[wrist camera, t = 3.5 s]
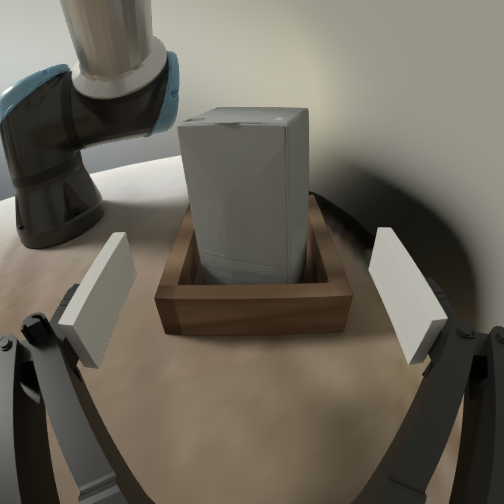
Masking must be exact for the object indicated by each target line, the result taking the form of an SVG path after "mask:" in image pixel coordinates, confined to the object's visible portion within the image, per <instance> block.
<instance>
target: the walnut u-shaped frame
mask: <svg viewBox="0 0 504 504" xmlns="http://www.w3.org/2000/svg"><path fill="white" fill-rule="evenodd" d="M307 255H308V259H309V263H310V267H311V271H312V275H313V280H314V283H308V284H266V285H193V284H194V280H195V276H196V271H197V267H198V262H199V258H200V254H199V249H198V244H197V239H196V234H195V229H194V224H193V218H192V213H191V207H190V203H189V206H188V208H187V211H186V213H185V216H184V218H183V221H182V223H181V226H180V228H179V231H178V234H177V236H176V239H175V242H174V244H173V247H172V250H171V252H170V255H169V258H168V260H167V263H166V266H165V269H164V272H163V274H162V277H161V280H160V283H159V286H158V289H157V292H156V295H155V298H154V299H155V302H156V306H157V309H158V312H159V315H160V319H161V322H162V325H163V328H164V331H165V334H185V335H279V334H305V333H324V332H340V331H344V327H345V323H346V320H347V316H348V312H349V309H350V305H351V301H352V297H353V294H352V291H351V288H350V286H349V283H348V280H347V277H346V275H345V272H344V269H343V267H342V264H341V261H340V259H339V256H338V254H337V251H336V248H335V246H334V243H333V241H332V238H331V236H330V233H329V231H328V228H327V226H326V223H325V221H324V218H323V216H322V214H321V211H320V209H319V207H318V204H317V202H316V199H315V197H314V195H309V202H308V236H307Z"/></svg>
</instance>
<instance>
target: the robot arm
mask: <svg viewBox="0 0 504 504" xmlns="http://www.w3.org/2000/svg"><path fill="white" fill-rule="evenodd" d="M60 2H61V5H62V9H63V13H64V16H65V19H66V22H67V26H68V29H69V32H70V35H71V39H72V42H73V45H74V48H75V51H76V54H77V57H78V59H77V61H76V63H75V65H74V67H73V70H72V71H71V72H70V69H69V67H68V65H66V64H60V65H56V66H52V67H49V68H47V69H45V70H43V71H39V72H36V73H34V74H32V75H30V76H28V77H26V78H24V79H22V80H20V81H18V82H17V83H15V84H14V85H12V86H11V87H9V88H8V89H7V90H5V91H4V92H3V93H2V95H1V96H0V134H1V139H2V144H3V148H4V152H5V157H6V160H7V164H8V168H9V172H10V176H11V179H12V183H13V186H14V190H15V209H16V227H17V232H18V235H19V237H20V240H21V242H22V244H23V245H24V246H26V247H29V248H43V247H49V246H53V245H56V244H59V243H62V242H65V241H67V240H69V239H71V238H73V237H75V236H77V235H79V234H81V233H83V232H84V231H86V230H87V229H89V228H90V227H91V226H93V225H94V224H95V223H96V222H97V221H98V220H99V219H100V218H101V216H102V215H103V213H104V204H103V200H102V196H101V194H100V192H99V190H98V189H97V187H96V185H95V184H94V182H93V180H92V179H91V177H90V176H89V174H88V172H87V170H86V169H85V167H84V165H83V162H82V157H81V152H80V150H81V149H85V148H89V147H93V146H98V145H102V144H107V143H111V142H117V141H122V140H127V139H133V138H139V137H149V136H151V135H152V134H156V133H161V132H165V131H168V130H169V129H170V128H171V127H172V126H173V125H174V123H175V120H176V116H177V110H178V101H179V97H178V91H179V65H178V59H177V56H176V54H175V53H174V52H170V51H166V49H165V46H164V44H163V43H162V42H161V41H160V40H159V39H158V38H157V37H155V36H153V35H152V16H151V0H60ZM369 272H370V274H371V276H372V279H373V281H374V283H375V285H376V287H377V290H378V292H379V294H380V296H381V299H382V301H383V303H384V306H385V308H386V310H387V313H388V315H389V317H390V320H391V322H392V324H393V327H394V329H395V332H396V334H397V337H398V339H399V342H400V344H401V347H402V349H403V352H404V355H405V357H406V360H407V363H408V365H411V364H417V363H422V362H424V360H425V358H426V357H427V355H428V354H429V356H430V359H431V362H430V363H429V365H428V366H427V368H426V369H425V371H424V372H423V374H422V375H423V376H424V377H423V379H422V382H421V384H420V386H419V389H418V391H417V393H416V395H415V398H414V400H413V402H412V404H411V406H410V408H409V410H408V412H407V414H406V416H405V418H404V420H403V422H402V424H401V426H400V428H399V430H398V432H397V434H396V436H395V438H394V439H393V441H392V443H391V445H390V447H389V448H388V450H387V452H386V454H385V455H384V457H383V459H382V460H381V462H380V464H379V465H378V467H377V469H376V470H375V472H374V473H373V475H372V476H371V478H370V480H369V481H368V483H367V484H366V486H365V487H364V489H363V490H362V491H361V493H360V494H359V495H358V496H357V497H356V498H355V499H354V500H353V502H352V503H351V504H425V502H426V497H427V496H426V494H425V490H426V488H427V485H428V483H429V481H430V479H431V477H432V475H433V473H434V471H435V469H436V467H437V464H438V462H439V460H440V458H441V455H442V453H443V451H444V448H445V446H446V443H447V441H448V438H449V435H450V433H451V430H452V427H453V425H454V422H455V419H456V416H457V413H458V410H459V407H460V404H461V401H462V397H463V394H464V407H463V420H462V431H461V439H460V447H459V454H458V461H457V467H456V472H455V478H454V483H453V487H452V492H451V496H450V500H449V504H504V328H503V327H501V326H496V327H493V329H492V330H491V332H490V333H489V334H484V333H478V332H476V331H475V329H474V328H473V326H472V325H470V324H469V323H467V322H465V321H460V319H459V318H458V316H457V314H456V312H455V311H454V309H453V307H452V306H451V304H450V302H449V301H448V300H447V297H446V296H445V294H444V293H443V291H442V290H441V288H440V286H439V285H438V283H436V282H435V281H434V280H433V279H432V278H424V277H423V275H422V274H421V272H420V270H419V269H418V267H417V266H416V264H415V263H414V261H413V260H412V258H411V256H410V255H409V253H408V252H407V250H406V249H405V247H404V246H403V244H402V243H401V242H400V240H399V239H398V237H397V236H396V234H395V233H394V231H393V230H392V229H391V228H378V230H377V235H376V239H375V244H374V249H373V253H372V257H371V261H370V266H369ZM136 275H137V272H136V268H135V265H134V261H133V258H132V254H131V251H130V247H129V243H128V239H127V235H126V232H116V233H112V235H111V236H110V238H109V239H108V241H107V242H106V244H105V245H104V247H103V248H102V250H101V251H100V253H99V255H98V256H97V258H96V259H95V261H94V262H93V264H92V266H91V267H90V269H89V270H88V272H87V274H86V275H85V277H84V278H83V280H82V282H81V283H80V284H75V285H73V286H72V287H71V288H70V289H69V290H68V291H67V293H66V294H65V296H64V298H63V300H62V301H61V303H60V304H59V305H60V306H58V308H57V310H56V311H55V313H54V315H53V317H52V318H51V320H50V322H48V320H47V318H46V317H45V315H44V314H42V313H34V314H31V315H30V316H28V317H27V318H26V319H25V320H24V321H23V323H22V325H21V332H22V333H23V335H24V336H25V338H26V339H27V340H23V341H18V339H17V338H16V336H15V335H13V334H6V335H4V336H3V337H1V338H0V504H60V501H59V497H58V493H57V488H56V483H55V478H54V473H53V468H52V462H51V455H50V449H49V441H48V432H47V423H46V411H45V406H46V409H47V412H48V415H49V418H50V421H51V424H52V427H53V429H54V432H55V435H56V438H57V440H58V443H59V445H60V448H61V450H62V453H63V455H64V457H65V460H66V462H67V464H68V467H69V469H70V471H71V473H72V475H73V477H74V479H75V482H76V484H77V486H78V488H79V490H80V495H79V497H78V498H79V503H80V504H155V503H154V502H153V501H152V500H151V499H150V498H149V497H148V495H147V494H146V493H145V492H144V490H143V489H142V487H141V486H140V484H139V483H138V481H137V480H136V478H135V477H134V475H133V474H132V472H131V470H130V469H129V467H128V466H127V464H126V462H125V461H124V459H123V457H122V456H121V454H120V452H119V450H118V449H117V447H116V445H115V443H114V442H113V440H112V438H111V436H110V434H109V432H108V431H107V429H106V427H105V425H104V423H103V421H102V419H101V417H100V415H99V413H98V411H97V409H96V407H95V405H94V403H93V400H92V398H91V396H90V394H89V392H88V389H87V387H86V385H85V382H84V380H83V378H82V375H81V373H80V371H79V369H78V367H77V366H76V365H77V362H78V360H79V359H80V361H81V362H82V364H83V365H84V367H90V368H97V369H99V366H100V364H101V361H102V358H103V355H104V353H105V350H106V347H107V345H108V342H109V340H110V337H111V334H112V332H113V329H114V327H115V324H116V322H117V319H118V317H119V314H120V312H121V310H122V307H123V305H124V302H125V300H126V298H127V295H128V293H129V291H130V288H131V286H132V284H133V282H134V279H135V277H136Z"/></svg>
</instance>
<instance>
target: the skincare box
mask: <svg viewBox="0 0 504 504" xmlns="http://www.w3.org/2000/svg"><path fill="white" fill-rule="evenodd" d="M177 131H178V138H179V144H180V150H181V156H182V162H183V168H184V174H185V179H186V184H187V190H188V196H189V201H190V207H191V213H192V218H193V224H194V229H195V234H196V239H197V244H198V249H199V254H200V260H201V264H202V269H203V274H204V278H205V283H206V285H266V284H298V283H299V281H300V278H301V276H302V273H303V271H304V268H305V266H306V258H307V236H308V202H309V111H308V108H282V107H276V108H275V107H269V108H268V107H262V108H261V107H223V108H222V107H220V108H215V109H213V110H210V111H208V112H205V113H203V114H201V115H198V116H196V117H193V118H191V119H188V120H186V121H184V122H181V123H179V124H178V125H177Z"/></svg>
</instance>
